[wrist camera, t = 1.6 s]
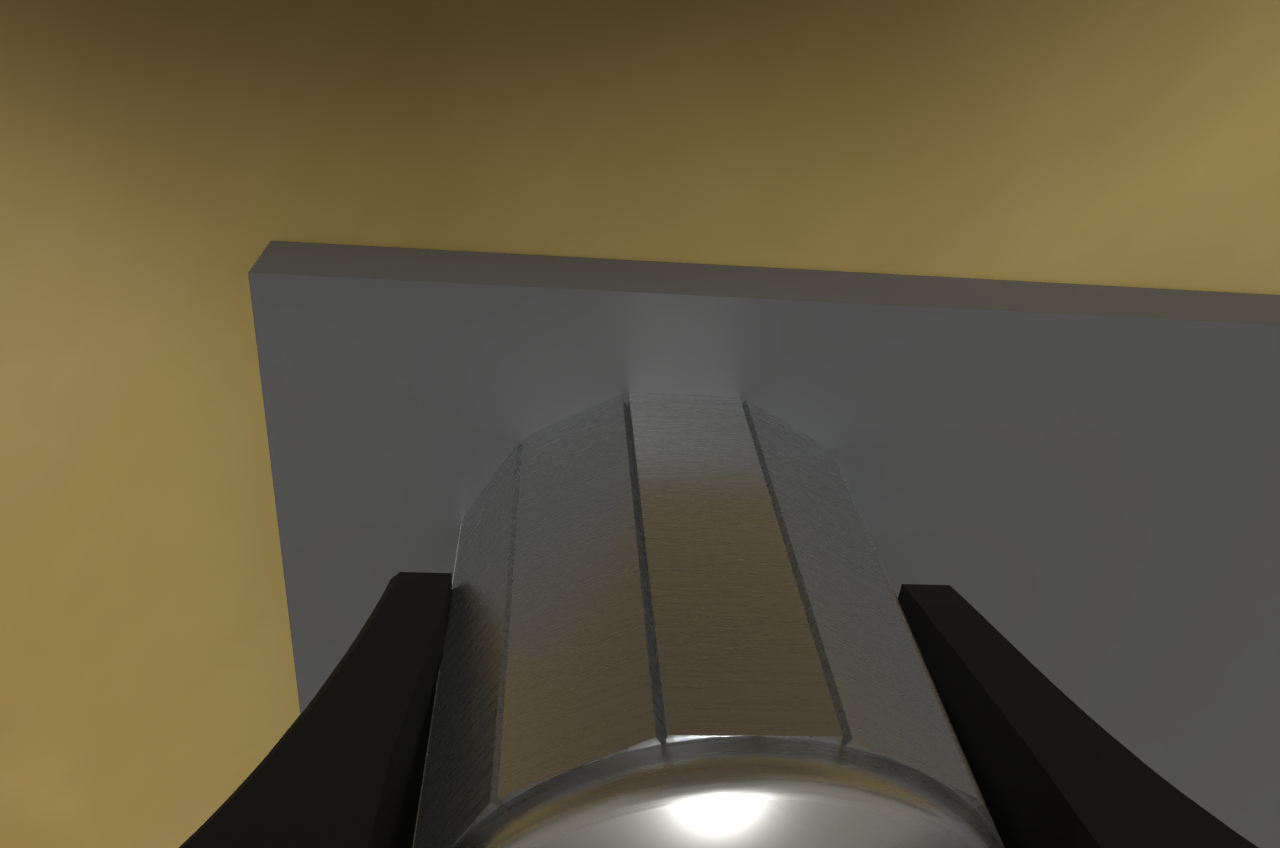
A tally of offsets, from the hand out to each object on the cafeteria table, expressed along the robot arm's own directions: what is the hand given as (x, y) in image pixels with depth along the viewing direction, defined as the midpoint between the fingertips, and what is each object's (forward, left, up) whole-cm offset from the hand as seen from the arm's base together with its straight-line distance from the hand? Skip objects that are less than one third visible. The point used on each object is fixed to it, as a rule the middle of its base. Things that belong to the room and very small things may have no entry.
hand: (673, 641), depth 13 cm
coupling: (0, 0, -1) cm, 1 cm away
